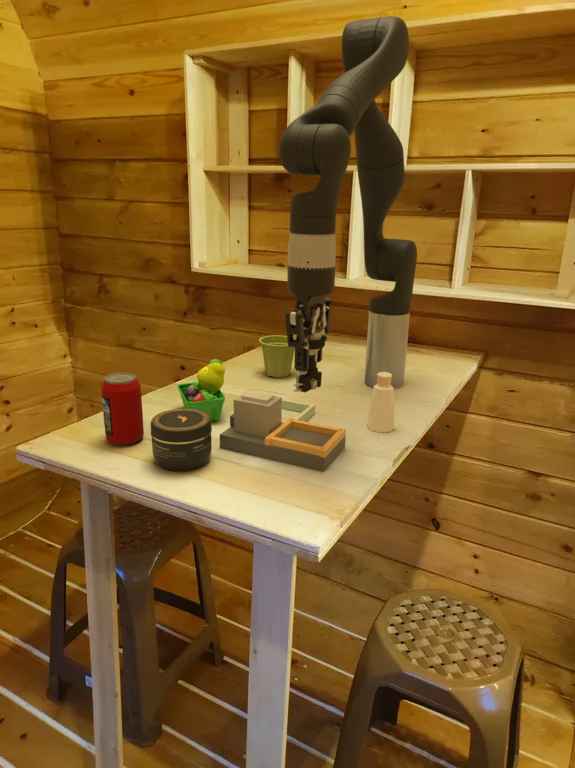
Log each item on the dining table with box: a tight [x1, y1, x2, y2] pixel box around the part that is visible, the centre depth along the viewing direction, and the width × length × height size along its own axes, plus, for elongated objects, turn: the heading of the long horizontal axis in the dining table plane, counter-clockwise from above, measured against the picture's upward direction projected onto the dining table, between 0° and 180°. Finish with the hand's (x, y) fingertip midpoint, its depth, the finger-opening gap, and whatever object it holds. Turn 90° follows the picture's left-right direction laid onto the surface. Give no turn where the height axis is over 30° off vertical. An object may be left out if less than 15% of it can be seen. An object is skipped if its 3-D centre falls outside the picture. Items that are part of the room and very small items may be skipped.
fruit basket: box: [176, 358, 226, 423], centre depth 117 cm, size 11×9×11 cm
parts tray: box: [281, 398, 316, 423], centre depth 117 cm, size 12×12×2 cm
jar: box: [150, 408, 213, 473], centre depth 98 cm, size 10×10×8 cm
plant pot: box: [258, 335, 295, 379], centre depth 142 cm, size 9×9×9 cm
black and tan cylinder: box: [292, 327, 327, 393], centre depth 97 cm, size 7×5×10 cm
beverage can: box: [100, 372, 145, 446], centre depth 105 cm, size 7×7×12 cm
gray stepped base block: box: [219, 390, 347, 472], centre depth 103 cm, size 10×20×9 cm, turn 65°
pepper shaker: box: [366, 372, 396, 434], centre depth 112 cm, size 5×5×11 cm
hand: (308, 365), depth 98 cm, fingers closed on black and tan cylinder, 5 cm apart
